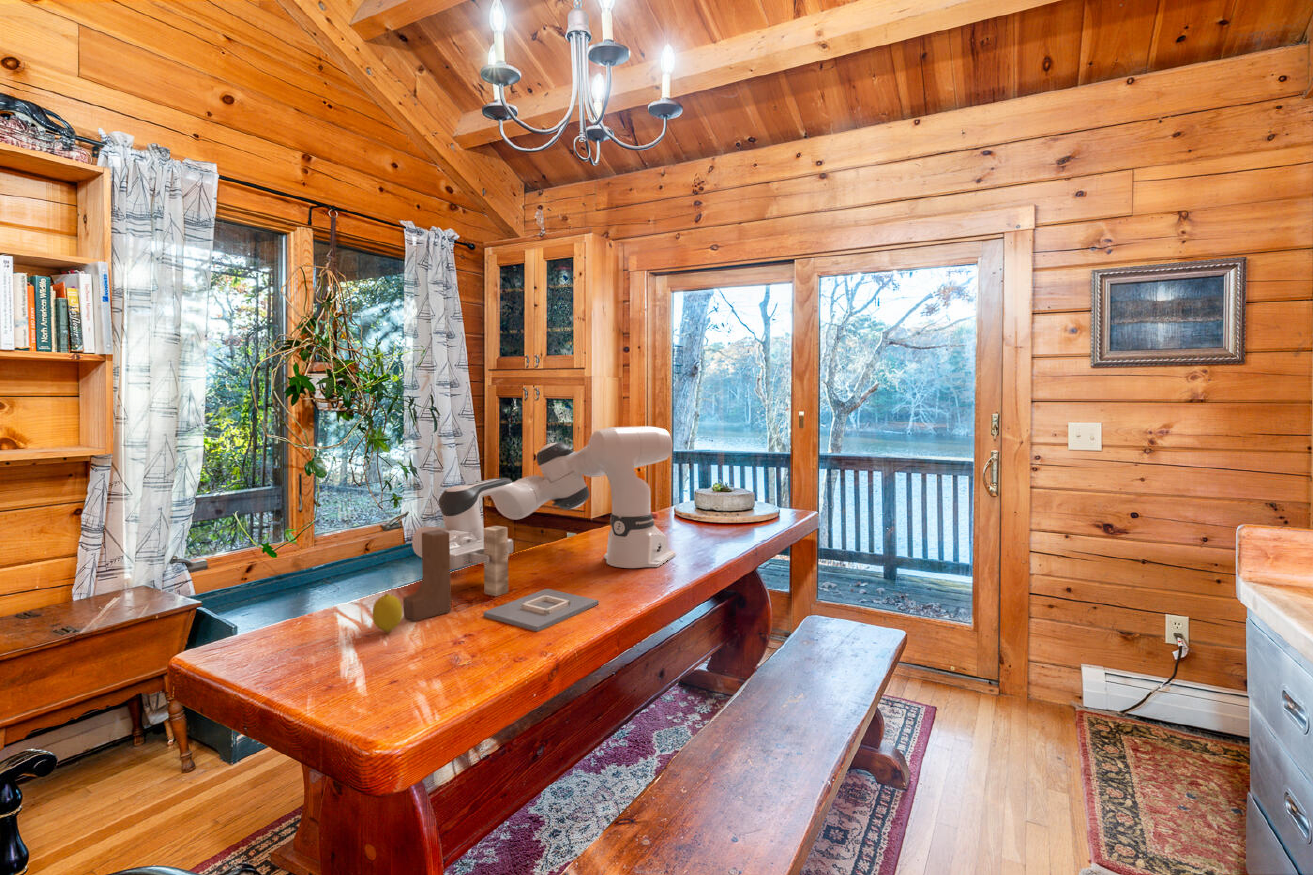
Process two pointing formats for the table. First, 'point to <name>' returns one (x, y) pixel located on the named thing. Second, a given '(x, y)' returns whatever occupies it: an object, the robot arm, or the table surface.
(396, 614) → the lemon
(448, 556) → the brown boot
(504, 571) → the birch column
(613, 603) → the table surface
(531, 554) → the table surface
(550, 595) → the base board
